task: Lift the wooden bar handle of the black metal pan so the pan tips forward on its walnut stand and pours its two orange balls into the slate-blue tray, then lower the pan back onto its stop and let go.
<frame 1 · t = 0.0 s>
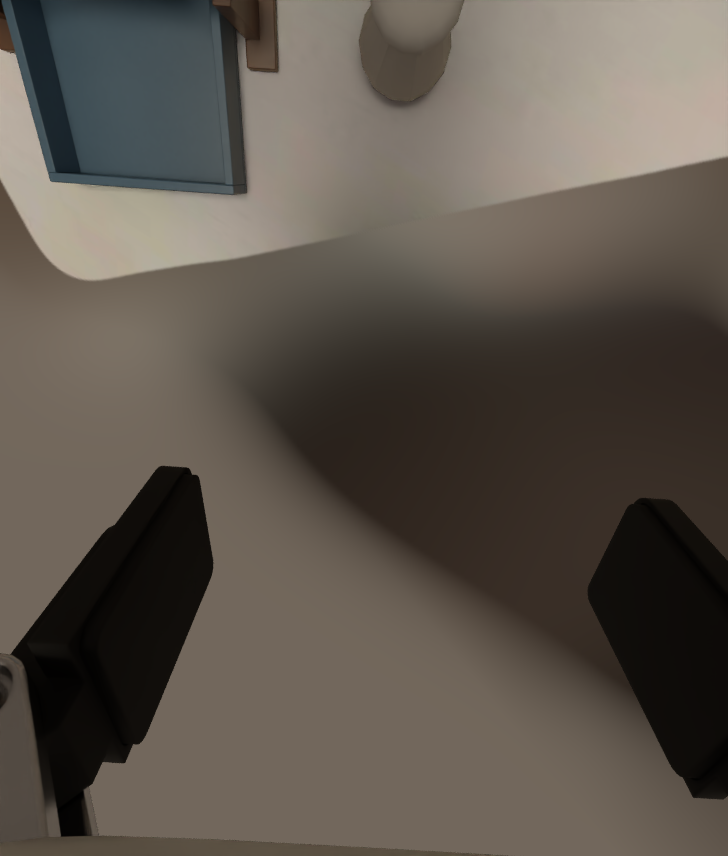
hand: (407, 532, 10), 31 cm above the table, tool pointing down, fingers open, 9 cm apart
salt shaker: (403, 54, 29), on the table
stand: (136, 14, 29), resting in tray
tray: (146, 80, 30), on the table
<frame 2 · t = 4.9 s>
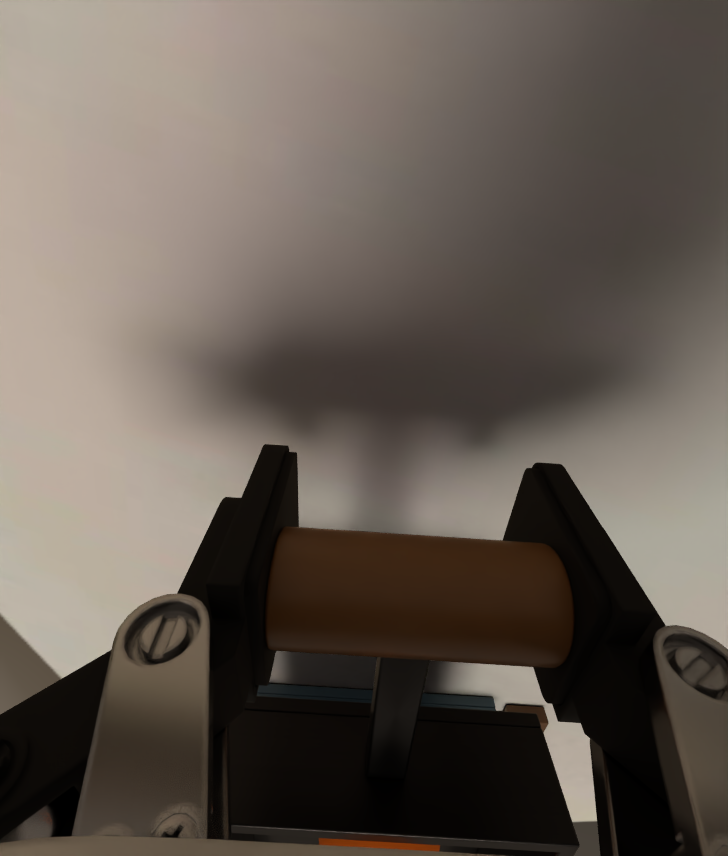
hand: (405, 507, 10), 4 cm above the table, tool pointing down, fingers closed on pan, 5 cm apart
ball a: (379, 825, 11), point 8 cm above the table, tilted 26°, touching ball b, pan
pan: (376, 816, 12), point 7 cm above the table, hinge at -4.1°, touching ball a, ball b, gripper
stand: (362, 719, 24), resting in tray
tray: (358, 749, 25), on the table
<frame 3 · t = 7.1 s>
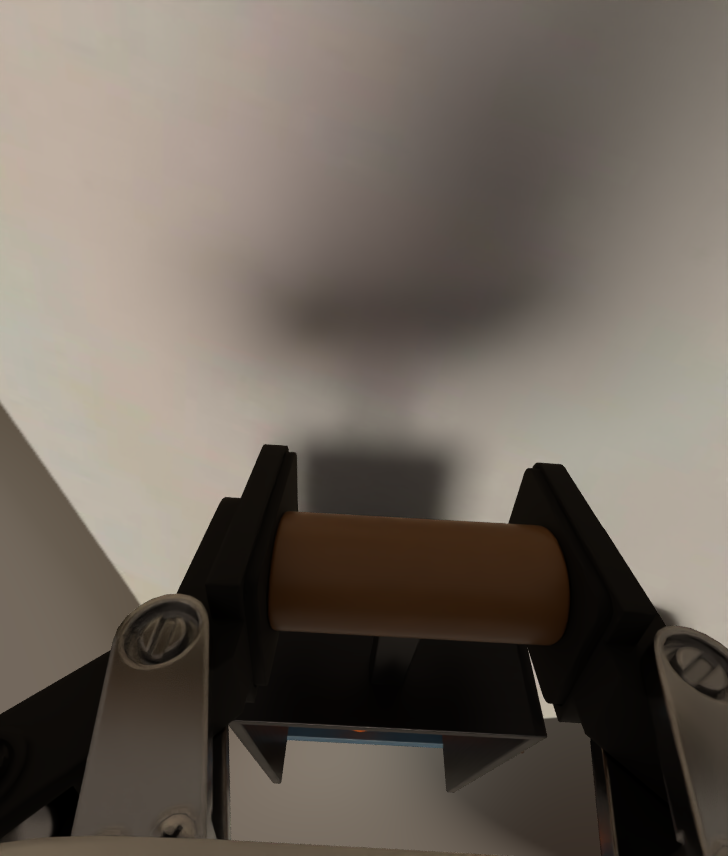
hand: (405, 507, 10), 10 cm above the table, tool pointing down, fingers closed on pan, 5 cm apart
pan: (379, 697, 15), point 10 cm above the table, hinge at 13.9°, touching gripper
tray: (364, 642, 30), on the table
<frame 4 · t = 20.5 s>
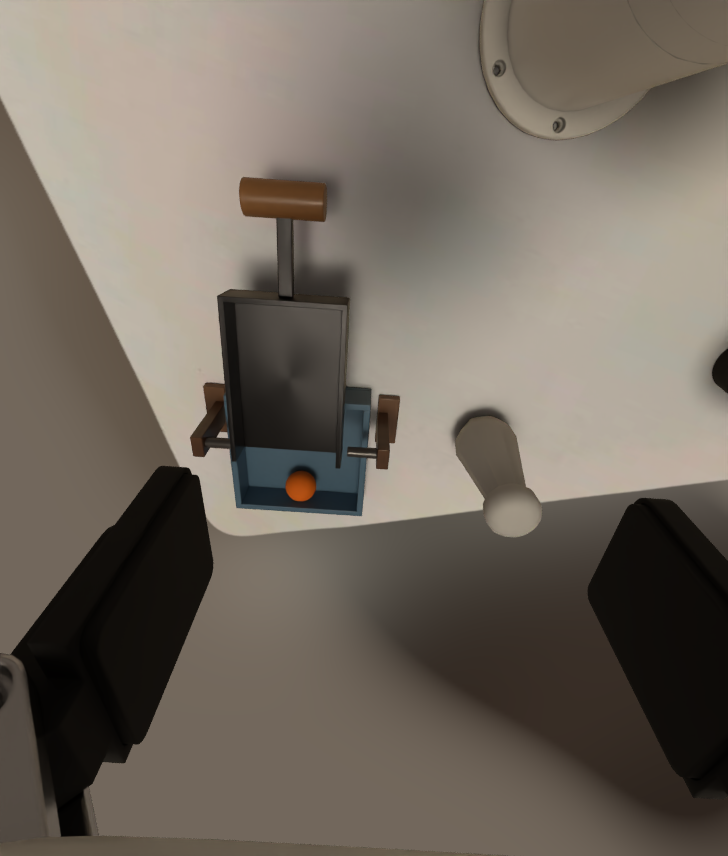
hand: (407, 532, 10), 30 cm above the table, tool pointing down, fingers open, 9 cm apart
ball b: (300, 485, 45), point 2 cm above the table, tilted 171°, touching tray
salt shaker: (480, 431, 44), on the table
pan: (287, 338, 31), point 7 cm above the table, hinge at -4.1°
stand: (303, 412, 43), resting in tray
tray: (303, 441, 44), on the table
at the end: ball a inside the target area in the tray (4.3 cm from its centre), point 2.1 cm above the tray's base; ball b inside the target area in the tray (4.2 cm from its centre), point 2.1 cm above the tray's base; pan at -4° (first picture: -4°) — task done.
